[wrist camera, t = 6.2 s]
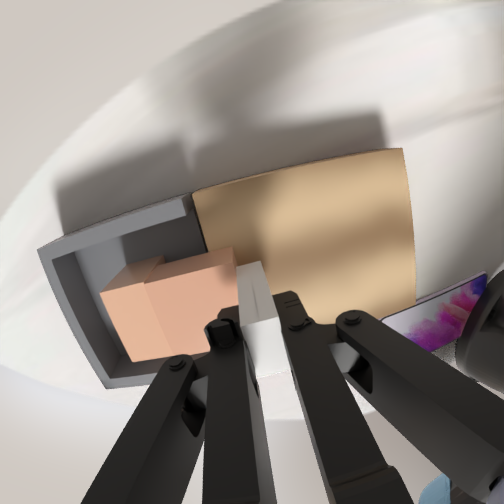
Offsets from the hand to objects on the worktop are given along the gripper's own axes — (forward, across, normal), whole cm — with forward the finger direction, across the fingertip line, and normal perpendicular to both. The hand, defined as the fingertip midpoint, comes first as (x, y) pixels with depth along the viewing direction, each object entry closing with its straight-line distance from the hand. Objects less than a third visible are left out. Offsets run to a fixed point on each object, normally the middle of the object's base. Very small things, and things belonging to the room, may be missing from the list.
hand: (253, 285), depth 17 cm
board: (+5, -5, 0) cm, 7 cm away
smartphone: (+5, -17, +12) cm, 21 cm away
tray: (+4, +8, 0) cm, 9 cm away
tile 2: (+2, +3, 0) cm, 4 cm away
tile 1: (+1, +6, 0) cm, 6 cm away
